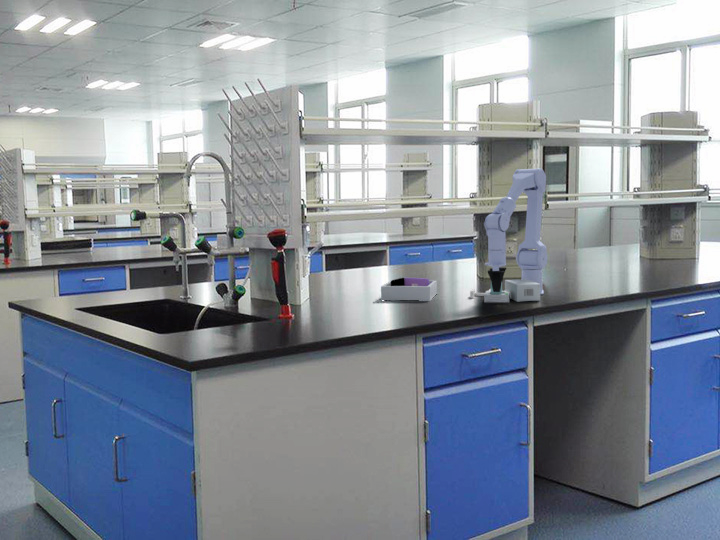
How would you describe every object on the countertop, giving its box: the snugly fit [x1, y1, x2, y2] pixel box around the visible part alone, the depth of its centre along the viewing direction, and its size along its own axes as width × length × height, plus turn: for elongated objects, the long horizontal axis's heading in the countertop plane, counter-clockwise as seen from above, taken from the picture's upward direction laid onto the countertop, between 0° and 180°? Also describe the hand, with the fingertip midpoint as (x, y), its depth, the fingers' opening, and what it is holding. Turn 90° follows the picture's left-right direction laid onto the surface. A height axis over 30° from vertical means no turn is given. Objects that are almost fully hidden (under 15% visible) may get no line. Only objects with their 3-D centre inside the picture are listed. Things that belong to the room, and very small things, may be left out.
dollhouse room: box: [390, 277, 430, 286], centre depth 268 cm, size 12×12×7 cm
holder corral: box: [380, 280, 438, 302], centre depth 269 cm, size 17×17×5 cm
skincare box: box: [504, 278, 541, 303], centre depth 259 cm, size 8×6×15 cm
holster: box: [469, 288, 491, 299], centre depth 265 cm, size 6×7×2 cm
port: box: [483, 290, 511, 304], centre depth 255 cm, size 10×8×3 cm
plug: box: [490, 282, 503, 294], centre depth 255 cm, size 4×4×7 cm
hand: (497, 290), depth 255 cm, fingers open, 7 cm apart
